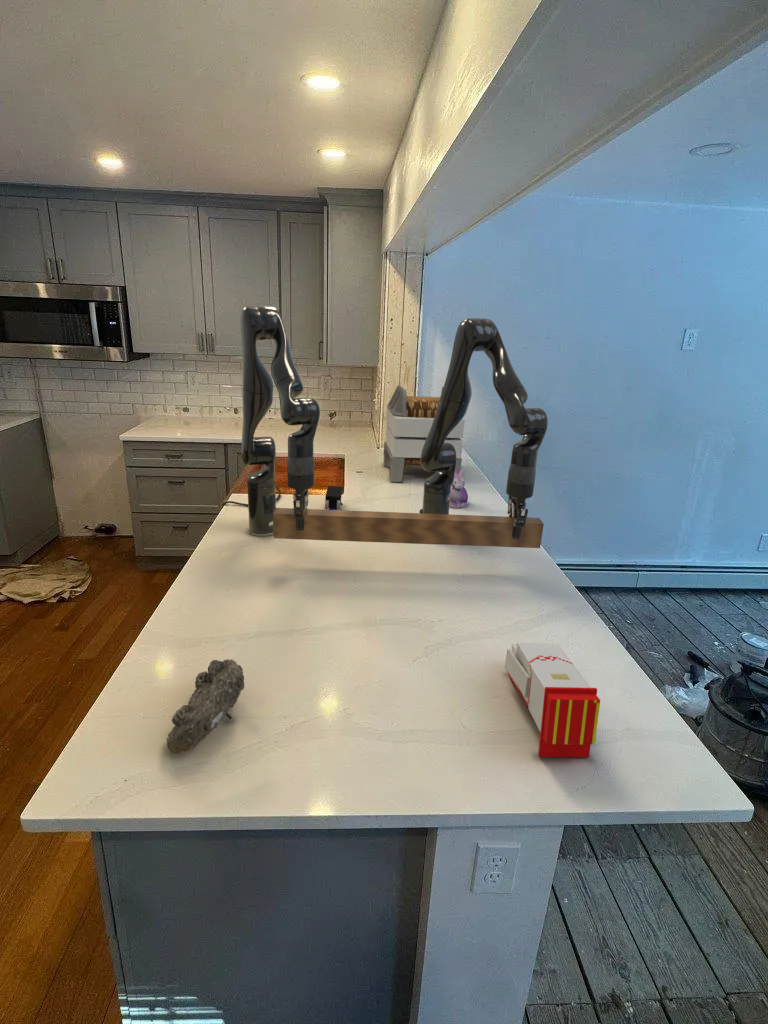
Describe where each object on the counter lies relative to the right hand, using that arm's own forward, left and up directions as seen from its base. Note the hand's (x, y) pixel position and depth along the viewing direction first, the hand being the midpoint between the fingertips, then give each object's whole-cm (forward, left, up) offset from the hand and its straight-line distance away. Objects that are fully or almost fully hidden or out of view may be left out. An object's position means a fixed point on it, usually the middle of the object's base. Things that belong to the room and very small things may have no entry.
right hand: (513, 534), depth 166 cm
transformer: (-81, +79, -14) cm, 114 cm away
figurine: (-44, +49, -14) cm, 68 cm away
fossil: (-19, -94, -14) cm, 97 cm away
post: (-25, -18, -3) cm, 31 cm away
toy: (+30, -52, -14) cm, 61 cm away
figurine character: (-78, +11, -14) cm, 80 cm away
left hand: (-50, -37, 0) cm, 62 cm away
